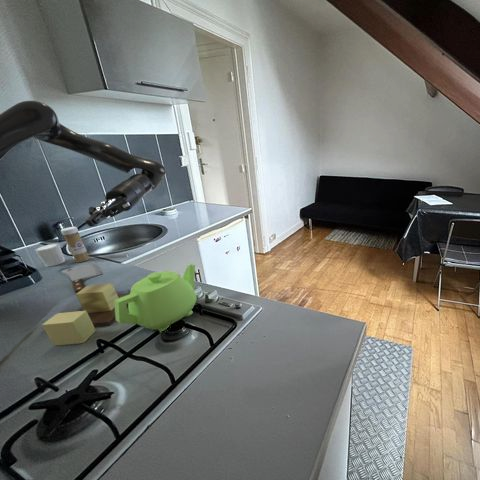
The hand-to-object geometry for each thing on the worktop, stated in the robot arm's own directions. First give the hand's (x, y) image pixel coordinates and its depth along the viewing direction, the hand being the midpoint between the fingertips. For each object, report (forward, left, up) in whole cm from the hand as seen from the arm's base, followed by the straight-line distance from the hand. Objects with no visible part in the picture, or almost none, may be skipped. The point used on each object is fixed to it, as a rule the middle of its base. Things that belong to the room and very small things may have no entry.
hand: (89, 223), depth 71 cm
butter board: (0, -10, -22) cm, 24 cm away
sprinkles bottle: (-22, +34, -22) cm, 46 cm away
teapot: (+17, -20, -22) cm, 35 cm away
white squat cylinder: (-32, +36, -22) cm, 53 cm away
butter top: (-3, -20, -16) cm, 26 cm away
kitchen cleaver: (-15, +16, -22) cm, 31 cm away
